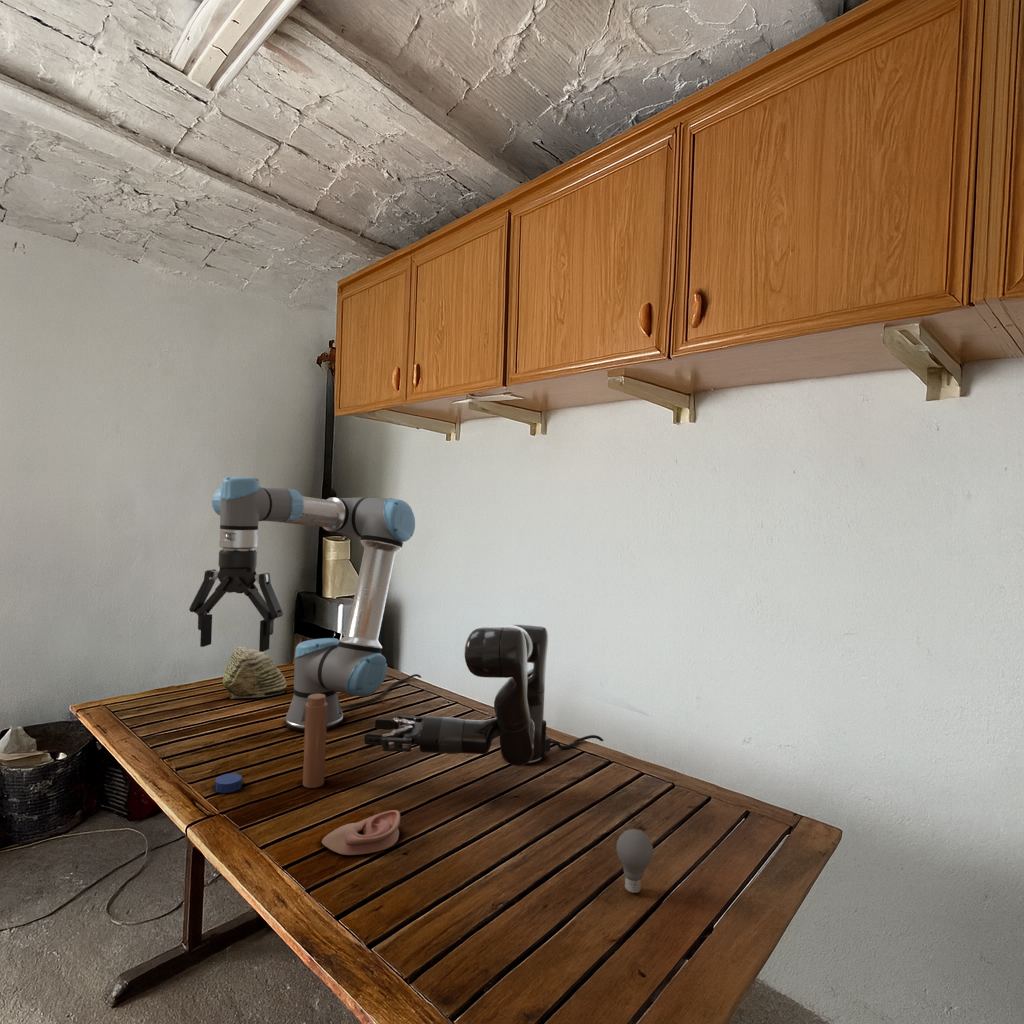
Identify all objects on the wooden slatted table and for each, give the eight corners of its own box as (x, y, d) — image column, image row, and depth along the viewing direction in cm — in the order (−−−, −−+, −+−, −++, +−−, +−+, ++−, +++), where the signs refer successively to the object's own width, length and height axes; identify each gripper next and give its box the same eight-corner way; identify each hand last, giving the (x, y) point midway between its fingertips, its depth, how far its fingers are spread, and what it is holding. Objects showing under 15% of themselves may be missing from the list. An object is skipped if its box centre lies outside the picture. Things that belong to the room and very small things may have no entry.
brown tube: (298, 783, 140) (301, 695, 139) (317, 776, 143) (320, 691, 143) (309, 790, 137) (313, 700, 136) (328, 783, 140) (331, 696, 140)
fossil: (218, 695, 195) (220, 647, 195) (278, 685, 208) (279, 640, 207) (228, 703, 189) (230, 653, 188) (289, 692, 201) (290, 645, 201)
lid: (210, 787, 136) (210, 778, 136) (234, 779, 140) (234, 771, 140) (222, 795, 132) (222, 786, 132) (246, 787, 136) (247, 778, 136)
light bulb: (610, 879, 108) (613, 822, 108) (644, 879, 109) (647, 822, 109) (619, 902, 102) (622, 840, 102) (655, 901, 103) (658, 840, 103)
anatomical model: (313, 828, 113) (343, 799, 125) (313, 850, 113) (342, 819, 125) (383, 839, 111) (407, 808, 122) (382, 862, 111) (406, 829, 122)
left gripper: (173, 547, 134) (170, 647, 134) (283, 553, 130) (280, 656, 130) (196, 544, 141) (193, 639, 141) (301, 551, 137) (297, 648, 138)
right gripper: (448, 706, 146) (379, 703, 146) (438, 730, 131) (361, 726, 132) (447, 738, 146) (378, 734, 147) (437, 766, 132) (360, 761, 132)
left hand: (234, 648), depth 136 cm, fingers open, 13 cm apart
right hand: (370, 730), depth 139 cm, fingers open, 8 cm apart
